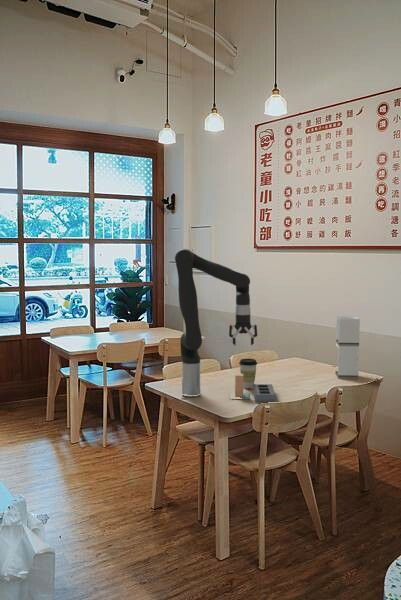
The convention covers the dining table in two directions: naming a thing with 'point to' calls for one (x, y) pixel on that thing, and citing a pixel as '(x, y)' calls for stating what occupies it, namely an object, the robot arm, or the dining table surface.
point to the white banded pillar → (347, 346)
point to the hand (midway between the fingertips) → (243, 345)
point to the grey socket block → (264, 393)
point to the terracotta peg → (238, 385)
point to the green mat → (245, 396)
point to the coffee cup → (248, 372)
